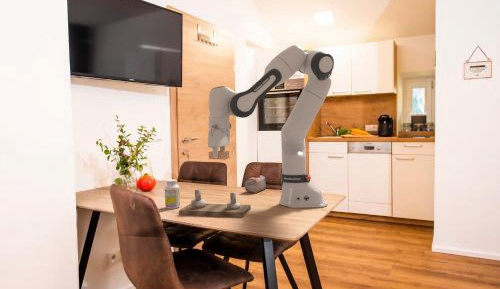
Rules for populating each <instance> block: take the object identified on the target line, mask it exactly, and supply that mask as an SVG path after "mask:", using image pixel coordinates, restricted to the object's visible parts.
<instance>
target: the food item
mask: <svg viewBox="0 0 500 289" xmlns="http://www.w3.org/2000/svg"><path fill="white" fill-rule="evenodd" d="M250 174H251V173H250ZM250 176H251V177H249V178H248V179H246V181H245V182H244V187H245V191H246V192H247V193H251V194H257V193H259V192H262V191H264V190H266V188H267V187H266V186H267V185H266V177H265V176H264V175H260V174H258V173H256V174H253V173H252V174H251V175H250Z"/></svg>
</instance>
